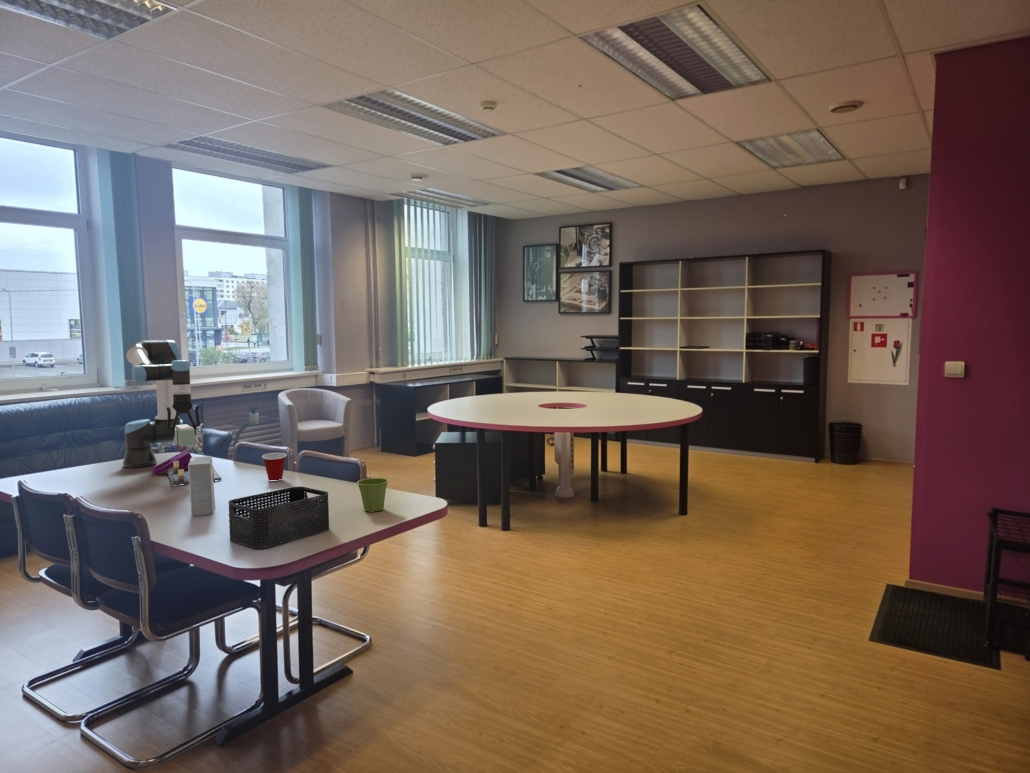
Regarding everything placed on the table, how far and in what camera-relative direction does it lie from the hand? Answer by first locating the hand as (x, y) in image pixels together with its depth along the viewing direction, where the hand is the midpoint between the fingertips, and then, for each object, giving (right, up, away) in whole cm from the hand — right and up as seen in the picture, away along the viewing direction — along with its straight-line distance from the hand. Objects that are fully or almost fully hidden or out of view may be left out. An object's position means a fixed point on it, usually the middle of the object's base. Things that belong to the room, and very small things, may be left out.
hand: (184, 442), depth 312 cm
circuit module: (0, 0, 0) cm, 1 cm away
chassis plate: (+3, -17, +3) cm, 17 cm away
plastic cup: (+44, -17, -5) cm, 48 cm away
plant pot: (+101, -21, -58) cm, 118 cm away
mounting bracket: (-14, -16, +17) cm, 27 cm away
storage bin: (+76, -24, -88) cm, 118 cm away
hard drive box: (+35, -22, -56) cm, 70 cm away
